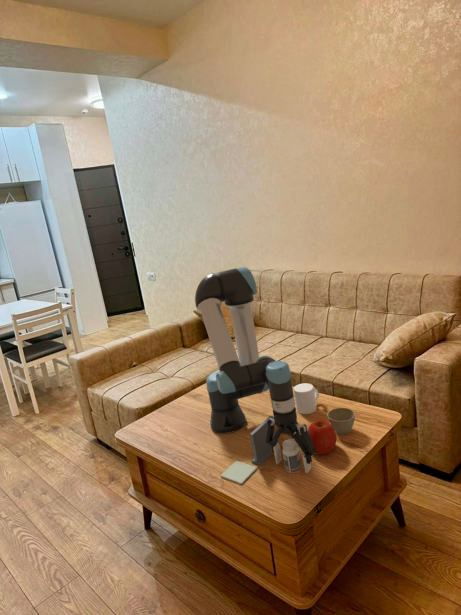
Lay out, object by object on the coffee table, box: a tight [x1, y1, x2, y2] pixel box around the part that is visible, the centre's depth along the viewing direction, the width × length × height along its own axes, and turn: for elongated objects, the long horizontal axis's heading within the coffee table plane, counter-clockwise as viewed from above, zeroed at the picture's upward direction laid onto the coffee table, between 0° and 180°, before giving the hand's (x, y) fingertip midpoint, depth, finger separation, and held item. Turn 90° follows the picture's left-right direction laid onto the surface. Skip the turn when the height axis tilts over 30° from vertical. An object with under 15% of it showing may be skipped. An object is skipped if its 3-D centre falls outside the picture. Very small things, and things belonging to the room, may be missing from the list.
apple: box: [307, 419, 338, 455], centre depth 148 cm, size 11×11×11 cm
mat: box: [220, 460, 258, 485], centre depth 144 cm, size 9×9×1 cm
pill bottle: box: [281, 438, 303, 474], centre depth 140 cm, size 6×6×10 cm
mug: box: [293, 382, 320, 415], centre depth 177 cm, size 8×10×12 cm
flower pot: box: [327, 407, 356, 436], centre depth 156 cm, size 10×10×7 cm
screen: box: [249, 415, 281, 466], centre depth 150 cm, size 4×13×12 cm, turn 141°
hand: (293, 466), depth 141 cm, fingers open, 11 cm apart
